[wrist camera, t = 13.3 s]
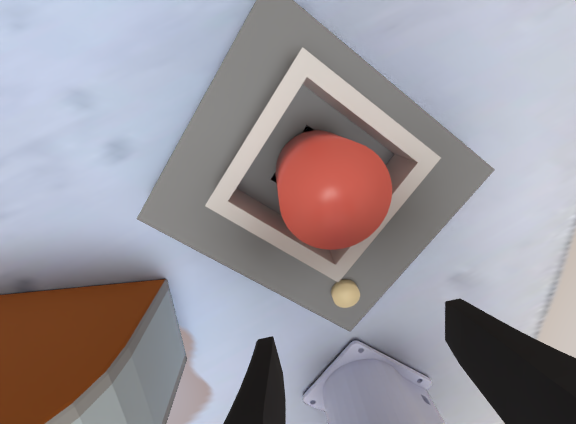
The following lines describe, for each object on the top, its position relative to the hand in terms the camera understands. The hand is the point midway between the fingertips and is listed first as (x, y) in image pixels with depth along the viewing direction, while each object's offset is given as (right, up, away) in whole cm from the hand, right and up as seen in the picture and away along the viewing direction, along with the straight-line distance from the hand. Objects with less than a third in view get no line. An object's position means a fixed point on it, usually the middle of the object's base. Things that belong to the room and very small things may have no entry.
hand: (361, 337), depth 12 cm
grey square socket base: (-1, +7, +8) cm, 11 cm away
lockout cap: (-1, +7, +4) cm, 8 cm away
